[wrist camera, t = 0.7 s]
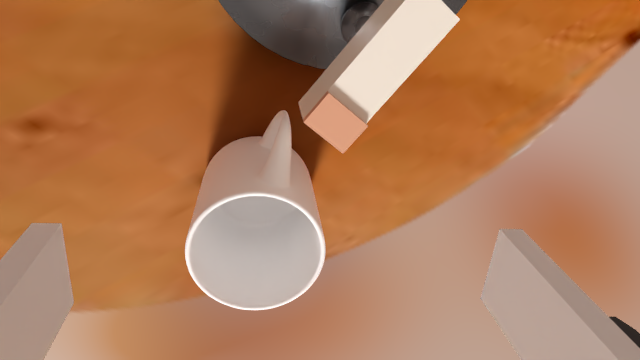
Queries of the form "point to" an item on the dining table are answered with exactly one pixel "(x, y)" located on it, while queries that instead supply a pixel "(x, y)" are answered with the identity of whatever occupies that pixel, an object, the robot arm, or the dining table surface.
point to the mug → (256, 223)
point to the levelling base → (306, 25)
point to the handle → (373, 67)
